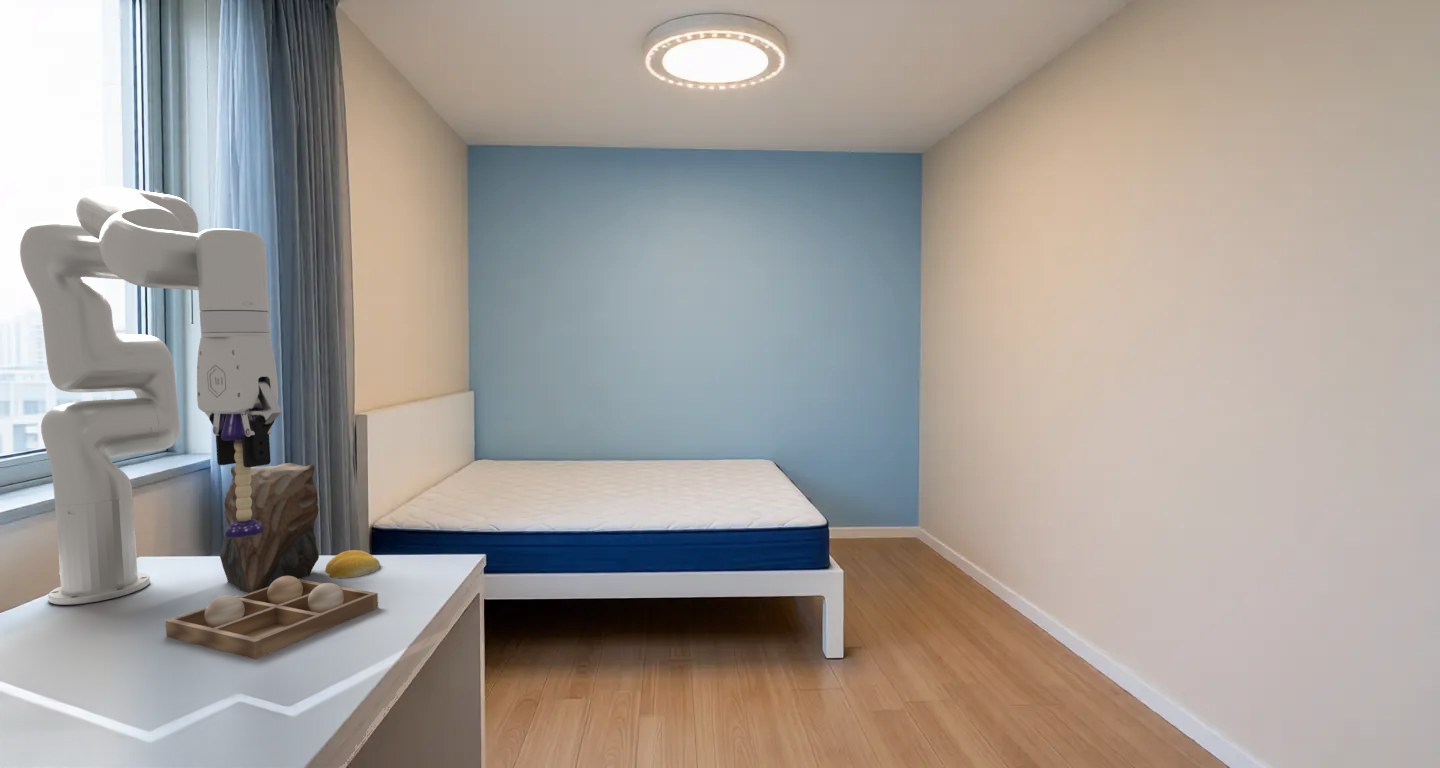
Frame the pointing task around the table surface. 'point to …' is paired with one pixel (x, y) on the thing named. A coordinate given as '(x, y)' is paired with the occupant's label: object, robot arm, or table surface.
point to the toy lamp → (240, 481)
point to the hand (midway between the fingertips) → (244, 463)
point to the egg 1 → (224, 610)
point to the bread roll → (351, 564)
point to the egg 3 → (325, 597)
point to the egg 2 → (284, 590)
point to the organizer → (269, 622)
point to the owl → (273, 528)
